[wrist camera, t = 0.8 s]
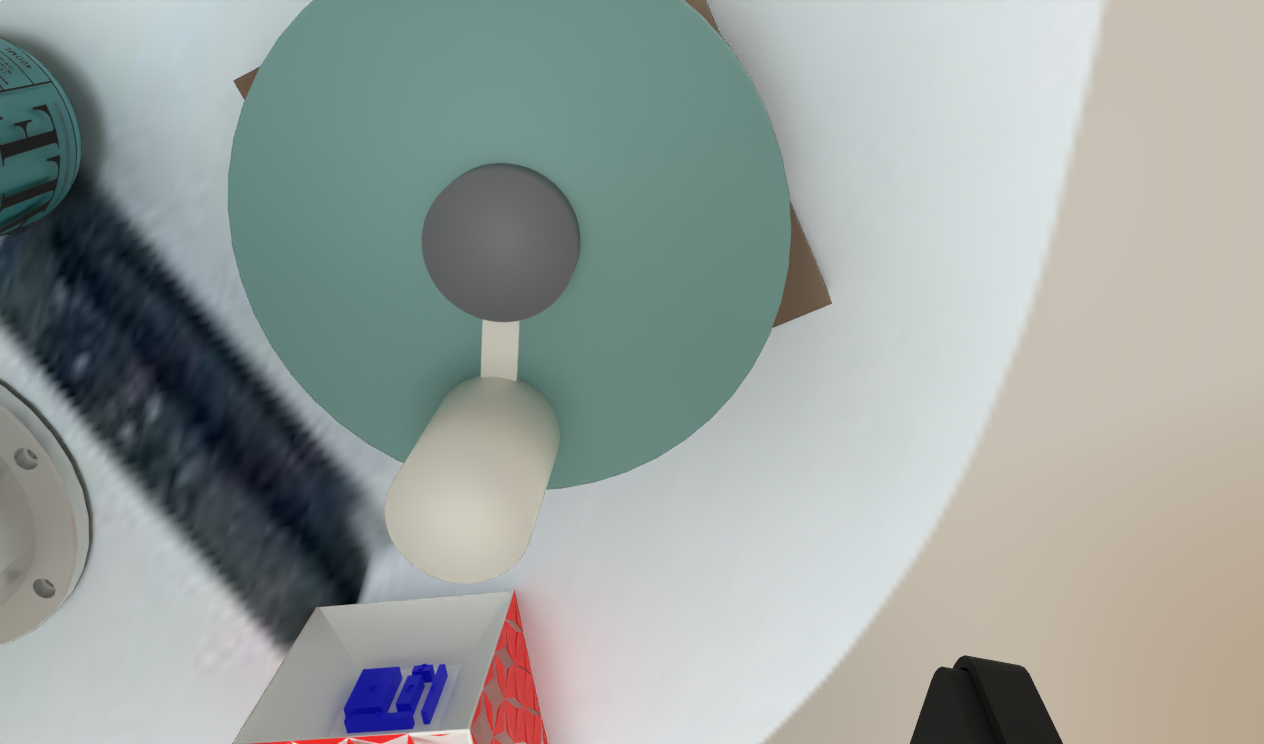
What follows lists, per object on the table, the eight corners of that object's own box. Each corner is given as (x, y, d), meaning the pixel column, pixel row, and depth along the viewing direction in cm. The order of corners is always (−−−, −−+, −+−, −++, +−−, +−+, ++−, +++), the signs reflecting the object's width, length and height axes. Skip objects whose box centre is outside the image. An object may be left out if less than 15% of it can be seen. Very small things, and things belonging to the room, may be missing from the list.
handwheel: (414, 534, 34) (348, 661, 28) (147, 88, 29) (-2, 125, 23) (868, 355, 31) (905, 456, 25) (646, -178, 26) (624, -215, 20)
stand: (459, 440, 39) (422, 511, 34) (253, 75, 34) (177, 96, 30) (827, 289, 36) (844, 343, 31) (649, -133, 31) (637, -147, 27)
